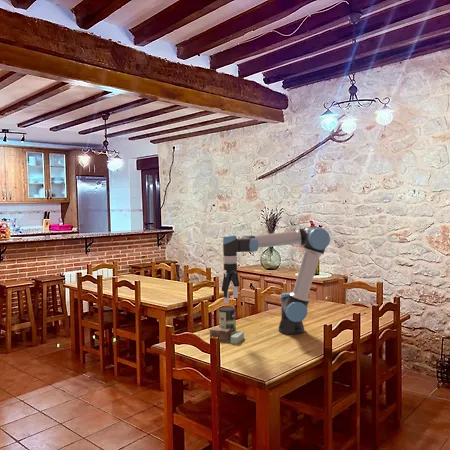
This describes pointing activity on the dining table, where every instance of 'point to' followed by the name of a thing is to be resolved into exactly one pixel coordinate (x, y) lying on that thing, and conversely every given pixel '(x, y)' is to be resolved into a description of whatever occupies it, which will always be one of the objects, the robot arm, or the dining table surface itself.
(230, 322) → the coffee can
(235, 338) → the sage ledge
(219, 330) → the walnut block
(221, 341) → the rubber mat
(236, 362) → the dining table surface
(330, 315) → the dining table surface
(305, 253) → the robot arm
